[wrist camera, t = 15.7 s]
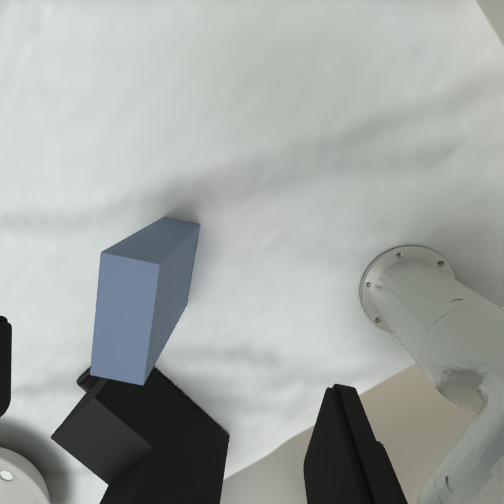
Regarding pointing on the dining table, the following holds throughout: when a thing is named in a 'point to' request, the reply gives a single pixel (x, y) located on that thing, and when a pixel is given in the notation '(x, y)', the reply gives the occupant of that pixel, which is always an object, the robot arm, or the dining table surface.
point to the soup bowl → (21, 481)
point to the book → (141, 298)
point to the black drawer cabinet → (145, 442)
